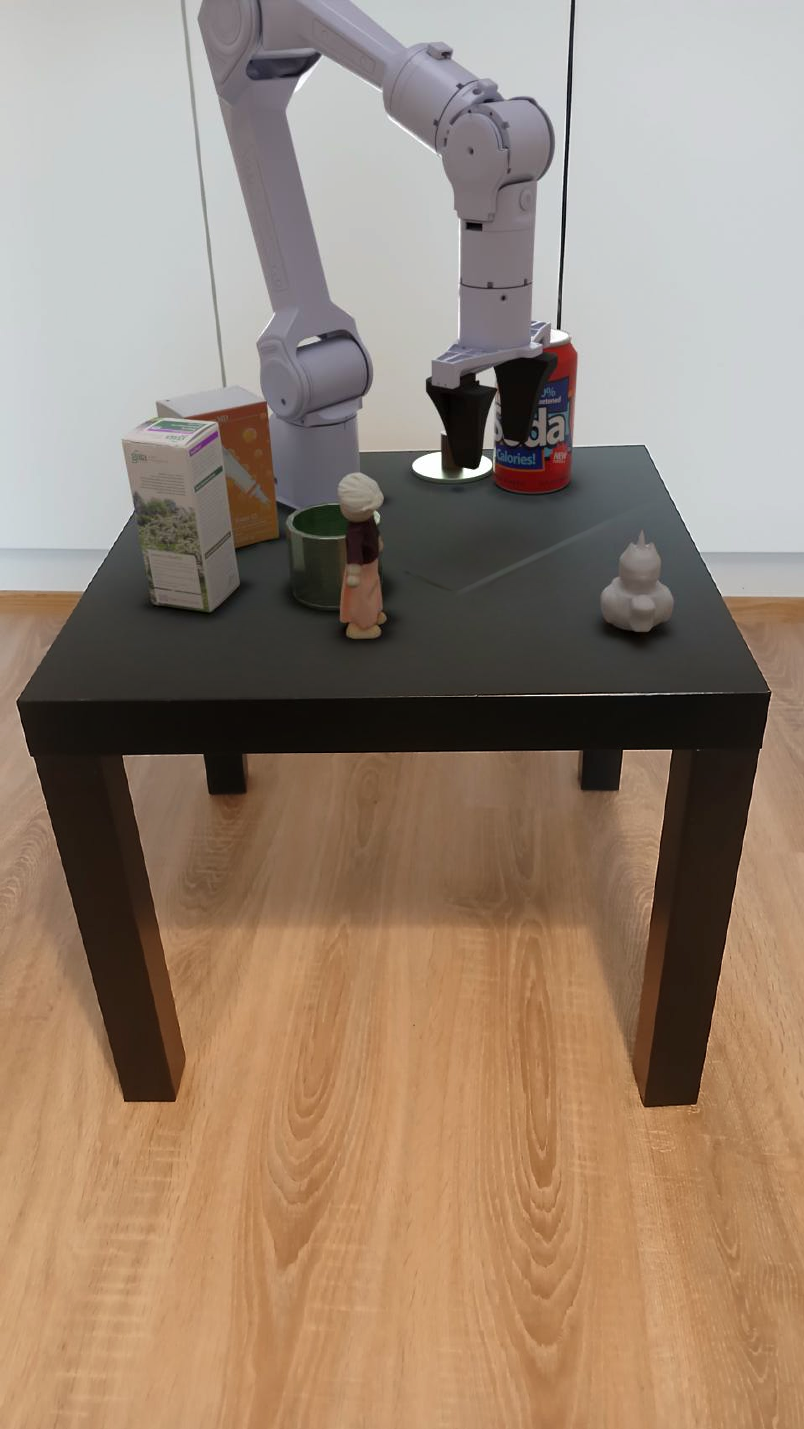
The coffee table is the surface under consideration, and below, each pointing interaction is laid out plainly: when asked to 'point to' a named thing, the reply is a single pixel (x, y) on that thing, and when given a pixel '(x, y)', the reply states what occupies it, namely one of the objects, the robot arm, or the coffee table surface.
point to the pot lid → (448, 467)
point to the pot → (320, 554)
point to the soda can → (542, 431)
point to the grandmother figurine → (361, 557)
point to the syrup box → (182, 512)
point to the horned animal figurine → (637, 591)
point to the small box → (238, 455)
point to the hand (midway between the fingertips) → (491, 453)
